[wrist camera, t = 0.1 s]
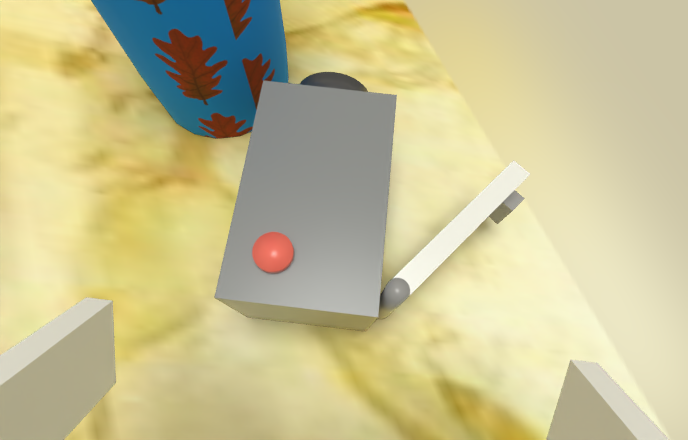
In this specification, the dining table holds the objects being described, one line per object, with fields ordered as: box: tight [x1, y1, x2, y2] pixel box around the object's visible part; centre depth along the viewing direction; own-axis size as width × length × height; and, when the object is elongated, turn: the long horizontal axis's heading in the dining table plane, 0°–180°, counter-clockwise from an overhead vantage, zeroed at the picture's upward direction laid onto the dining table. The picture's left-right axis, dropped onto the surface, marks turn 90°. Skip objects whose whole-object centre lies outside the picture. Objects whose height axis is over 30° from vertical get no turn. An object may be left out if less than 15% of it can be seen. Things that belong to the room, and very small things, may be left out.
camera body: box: [215, 72, 397, 331], centre depth 26 cm, size 15×8×9 cm, turn 174°
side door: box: [378, 161, 530, 319], centre depth 25 cm, size 11×2×8 cm, turn 133°
